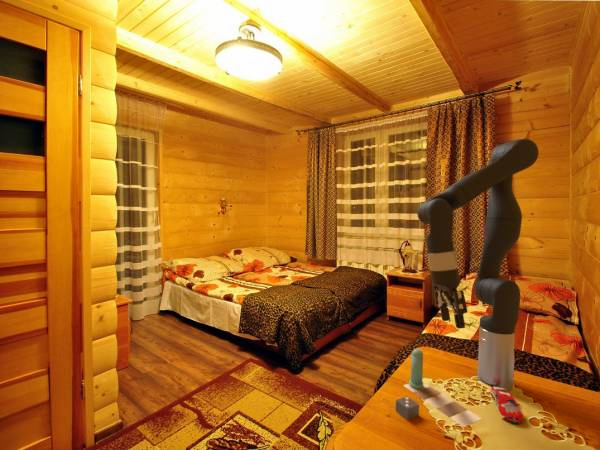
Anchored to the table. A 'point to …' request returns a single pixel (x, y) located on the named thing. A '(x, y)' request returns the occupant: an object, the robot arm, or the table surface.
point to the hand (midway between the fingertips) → (453, 324)
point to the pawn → (416, 369)
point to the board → (449, 409)
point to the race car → (507, 405)
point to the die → (407, 408)
